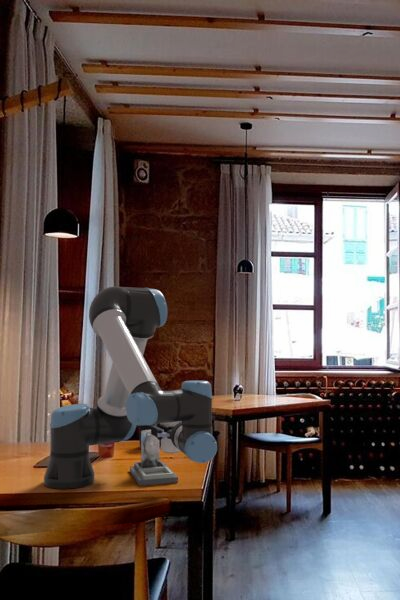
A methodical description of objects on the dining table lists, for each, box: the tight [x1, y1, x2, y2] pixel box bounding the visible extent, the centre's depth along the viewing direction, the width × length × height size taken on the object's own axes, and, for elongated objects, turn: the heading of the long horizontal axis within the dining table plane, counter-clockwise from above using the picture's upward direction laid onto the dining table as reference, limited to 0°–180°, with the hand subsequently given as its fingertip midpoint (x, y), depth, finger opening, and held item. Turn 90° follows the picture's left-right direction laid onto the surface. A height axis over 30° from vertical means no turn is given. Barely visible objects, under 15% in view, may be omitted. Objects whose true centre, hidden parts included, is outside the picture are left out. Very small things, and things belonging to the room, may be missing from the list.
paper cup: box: [97, 443, 116, 459], centre depth 201 cm, size 8×8×14 cm
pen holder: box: [138, 424, 161, 449], centre depth 217 cm, size 9×9×10 cm
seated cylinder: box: [140, 430, 160, 468], centre depth 175 cm, size 6×6×12 cm
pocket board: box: [129, 460, 179, 487], centre depth 170 cm, size 12×18×3 cm, turn 16°
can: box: [160, 421, 182, 454], centre depth 158 cm, size 6×6×12 cm
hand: (168, 424), depth 163 cm, fingers closed on can, 6 cm apart
